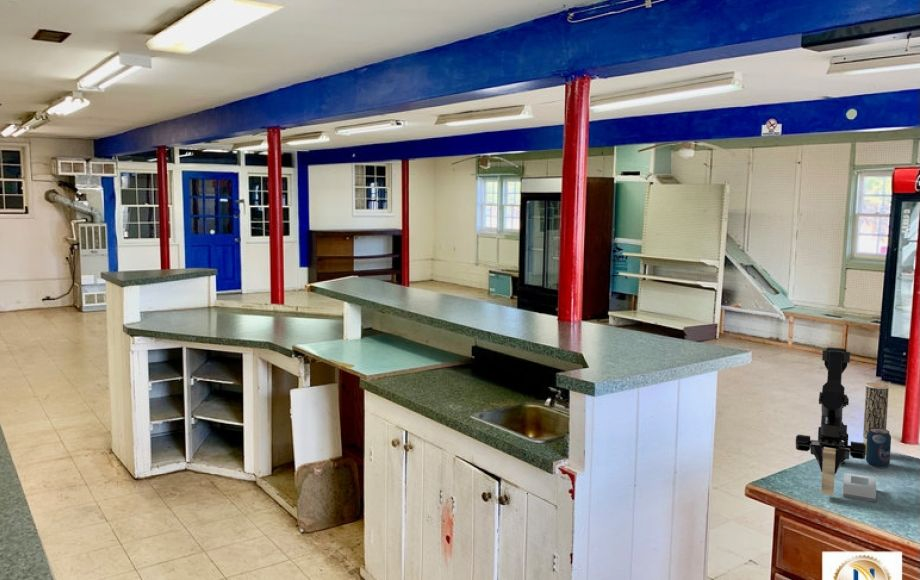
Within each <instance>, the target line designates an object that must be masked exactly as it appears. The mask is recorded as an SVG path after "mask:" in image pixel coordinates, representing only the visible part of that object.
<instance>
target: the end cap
mask: <svg viewBox="0 0 920 580" xmlns="http://www.w3.org/2000/svg"><path fill="white" fill-rule="evenodd" d="M876 479H877V477H875V476H868V475H862V474H856V473H850V472H849V473H848V472H843V490H842V497H843V496H844V498H849V497H850V499H856V500H861V501H868V502H873V503H876V502H877V500H876V499H877V481H876Z"/></svg>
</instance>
